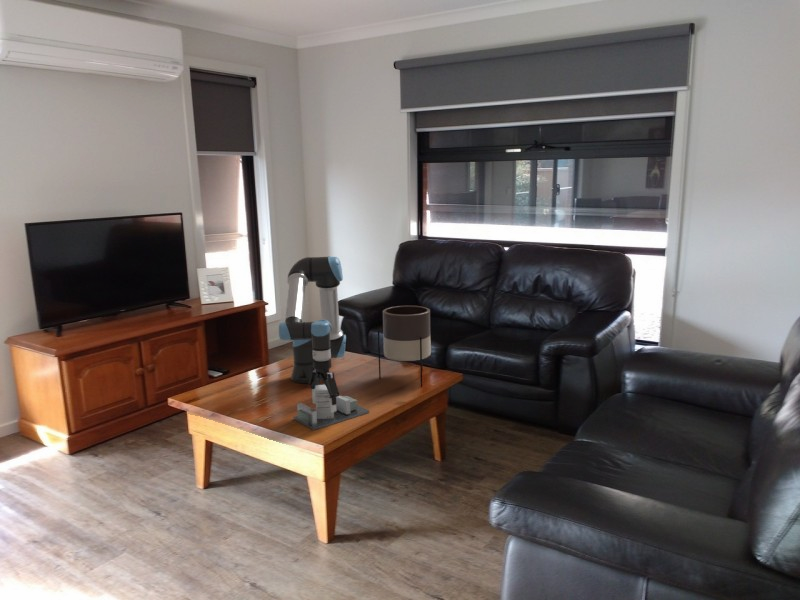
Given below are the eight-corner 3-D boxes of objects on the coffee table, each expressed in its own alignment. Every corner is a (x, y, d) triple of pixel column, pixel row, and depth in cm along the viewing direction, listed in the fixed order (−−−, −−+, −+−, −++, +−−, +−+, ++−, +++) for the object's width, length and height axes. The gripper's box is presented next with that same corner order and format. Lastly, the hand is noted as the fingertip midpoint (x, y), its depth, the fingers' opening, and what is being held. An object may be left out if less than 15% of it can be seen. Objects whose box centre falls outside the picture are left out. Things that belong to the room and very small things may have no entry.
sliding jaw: (330, 406, 263) (330, 393, 262) (344, 402, 267) (343, 390, 266) (346, 414, 254) (345, 401, 253) (360, 410, 258) (359, 397, 257)
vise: (293, 419, 254) (292, 403, 253) (348, 402, 271) (347, 388, 270) (313, 430, 242) (312, 413, 240) (369, 412, 259) (368, 397, 258)
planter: (446, 380, 298) (445, 311, 291) (404, 391, 285) (403, 318, 278) (415, 368, 319) (414, 303, 313) (375, 377, 306) (373, 309, 299)
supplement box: (316, 413, 257) (315, 384, 255) (334, 412, 258) (332, 383, 256) (315, 419, 250) (314, 390, 248) (333, 418, 251) (332, 389, 248)
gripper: (298, 354, 257) (301, 401, 261) (330, 367, 238) (333, 418, 242) (313, 351, 261) (316, 397, 265) (346, 363, 242) (348, 413, 246)
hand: (324, 407), depth 253 cm, fingers open, 13 cm apart
